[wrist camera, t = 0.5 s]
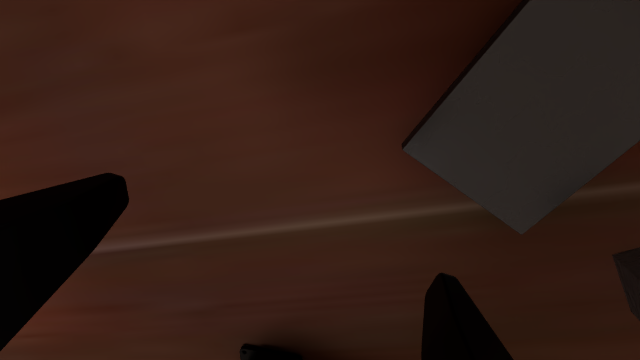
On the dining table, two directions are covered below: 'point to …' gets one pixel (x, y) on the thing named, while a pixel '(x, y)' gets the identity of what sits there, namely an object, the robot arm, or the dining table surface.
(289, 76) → the dining table surface
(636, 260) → the lock block
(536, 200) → the block
